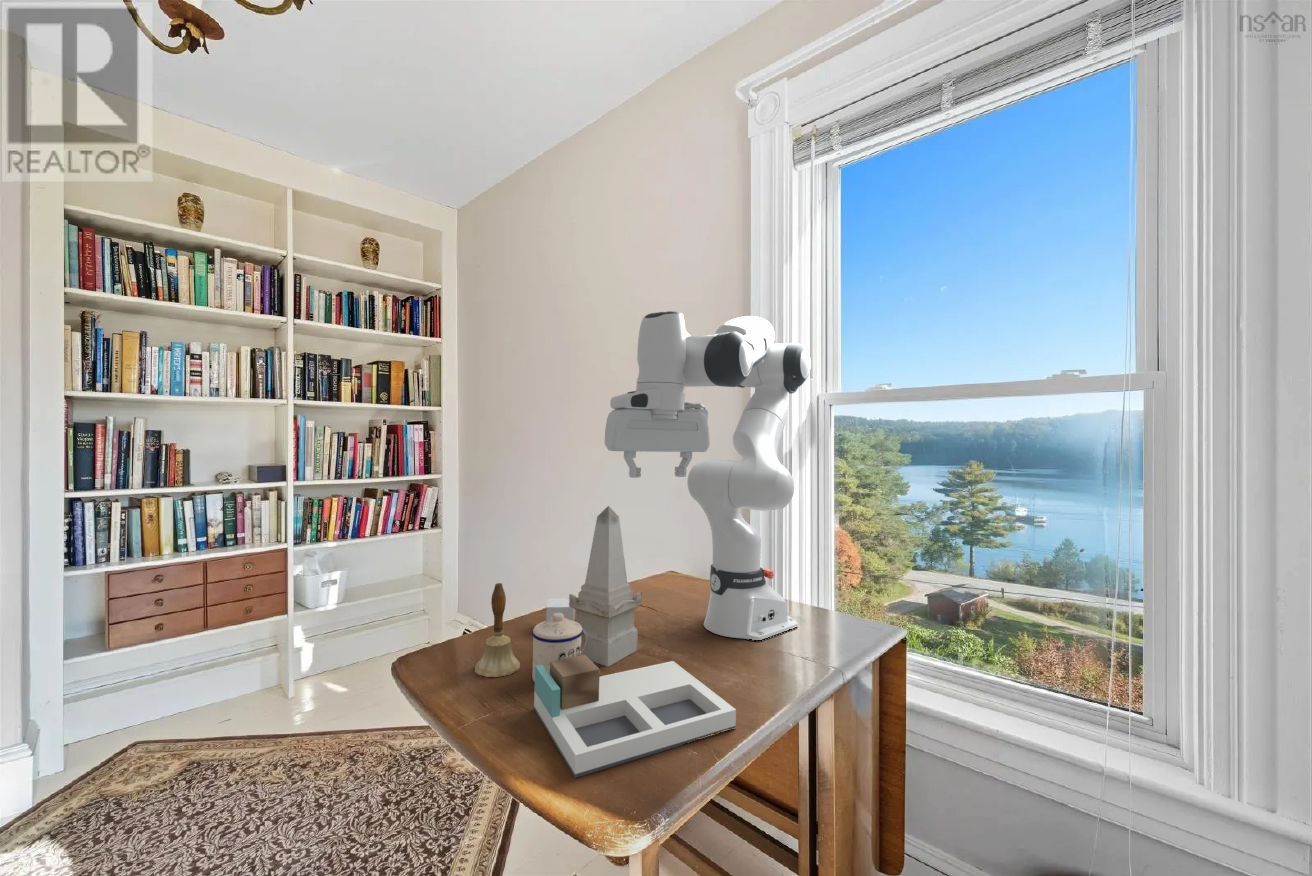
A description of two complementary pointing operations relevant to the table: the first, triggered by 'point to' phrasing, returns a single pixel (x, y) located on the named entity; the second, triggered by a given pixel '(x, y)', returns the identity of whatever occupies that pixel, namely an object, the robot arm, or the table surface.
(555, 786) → the table surface
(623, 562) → the miniature monument
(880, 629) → the table surface
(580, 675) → the walnut block
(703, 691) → the board
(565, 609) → the white cube
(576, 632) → the teacup with lid
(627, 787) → the table surface
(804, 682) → the table surface
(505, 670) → the hand bell
